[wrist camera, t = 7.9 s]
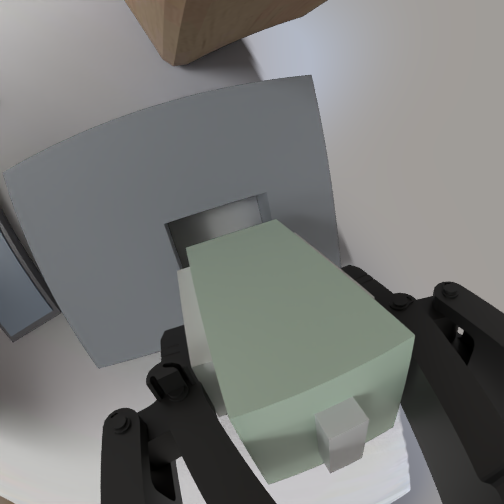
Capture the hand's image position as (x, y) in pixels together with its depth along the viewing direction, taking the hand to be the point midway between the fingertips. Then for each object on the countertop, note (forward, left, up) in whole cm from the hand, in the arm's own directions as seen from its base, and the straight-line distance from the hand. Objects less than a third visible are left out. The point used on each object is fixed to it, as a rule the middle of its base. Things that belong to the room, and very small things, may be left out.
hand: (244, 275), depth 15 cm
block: (+3, +17, -5) cm, 18 cm away
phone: (-16, +4, -5) cm, 17 cm away
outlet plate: (-2, +2, -5) cm, 6 cm away
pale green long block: (0, 0, 0) cm, 0 cm away
